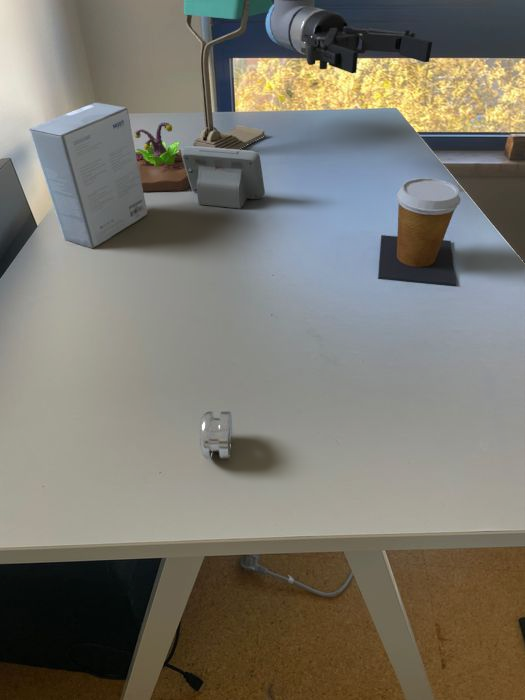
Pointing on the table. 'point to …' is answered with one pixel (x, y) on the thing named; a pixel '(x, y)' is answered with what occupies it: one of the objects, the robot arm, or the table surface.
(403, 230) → the disposable coffee cup
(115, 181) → the hard drive box
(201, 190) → the digital clock
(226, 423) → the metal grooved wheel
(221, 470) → the table surface
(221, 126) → the table surface
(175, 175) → the plant
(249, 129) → the banker's lamp
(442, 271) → the mat
